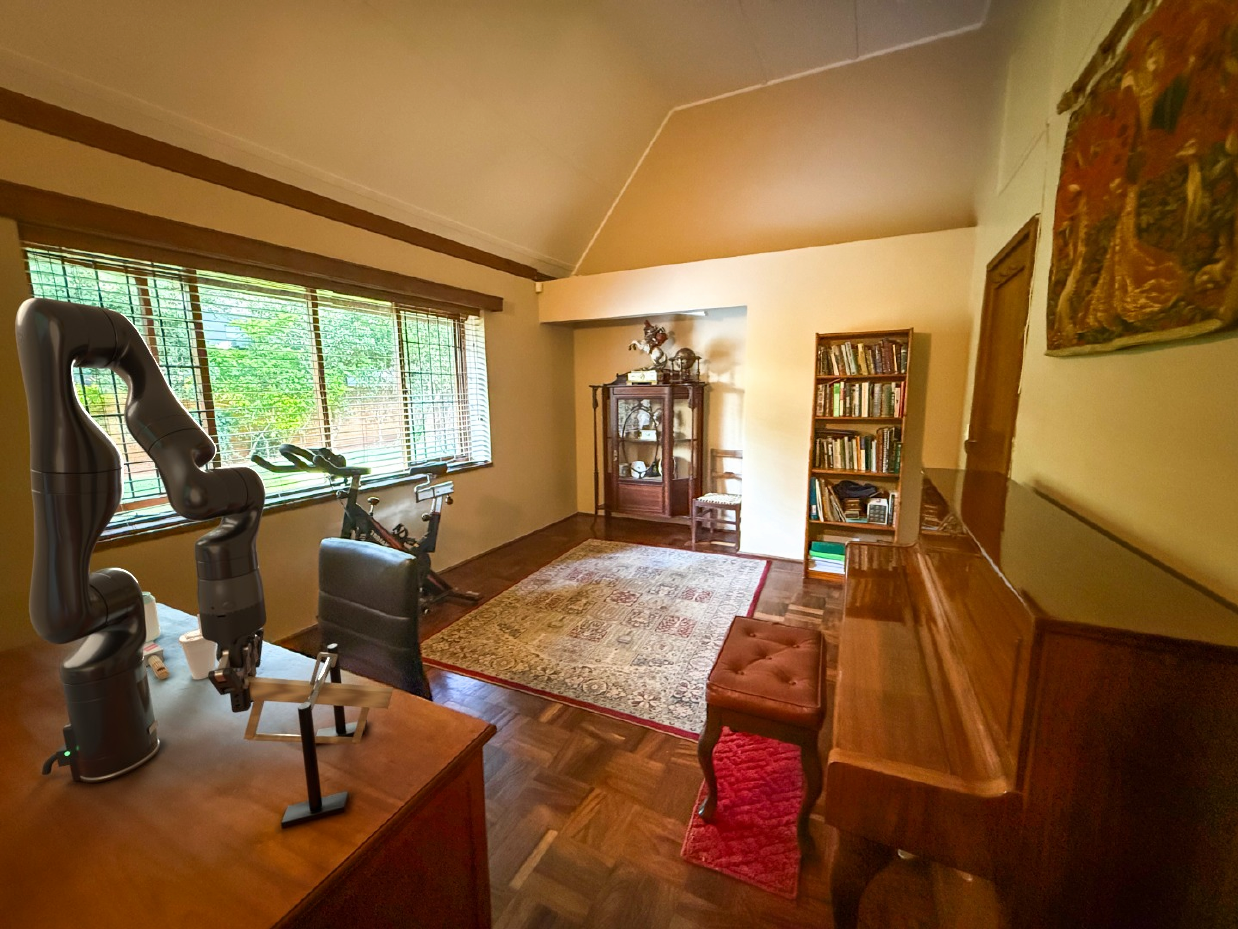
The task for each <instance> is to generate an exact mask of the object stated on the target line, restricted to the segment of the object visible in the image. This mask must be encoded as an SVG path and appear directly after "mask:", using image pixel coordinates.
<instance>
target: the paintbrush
mask: <svg viewBox="0 0 1238 929" xmlns="http://www.w3.org/2000/svg"><path fill="white" fill-rule="evenodd" d="M143 653H144V659H145V665H146V667H148V666H150V667H151V669H152V670H153V672H154V674H155V675H156V677H157V679H158V680H166V679H167V678H168V677H169V676H170V671H169V670H168V668H167V667H166V666H165V664H164V663H163V661H165V660H166V658H165V655H164V648H163V647H161V646H160V645H159V644H156V642H154V641H151V642H148V643H145V645H144V648H143Z"/></svg>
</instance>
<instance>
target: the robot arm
mask: <svg viewBox="0 0 1238 929" xmlns="http://www.w3.org/2000/svg"><path fill="white" fill-rule="evenodd" d="M14 321H15V324H14V332H15V334H14V335H15V341H16V347H17V354H18V360H19V365H20V371H21V376H22V381H23V387H24V391H25V397H26V404H27V413H28V427H29V449H30V450H29V451H30V452H29V453H30V454H29V455H30V456H29V469H30V470H29V471H30V488H31V490H30V491H31V498H32V505H33V536H34V537H33V559H32V560H33V561H32V571H31V578H30V589H29V600H28V603H29V604H28V610H29V612H28V613H29V618H30V623H31V625H32V627H33V629H34V631H35V632H36V634H37V635H38V636H39V637H40V638H41V639H42V640H44V641H45V642H47V643H51V644H53V645H66V644H70V643H75V642H77V641H79V640H82V641H81V642H80V643H79V644H78V645H77V647H75V648H74V649H73V650H72V651H71V652H70V653H69V654H68V655H67V656H66V657H65V658H64V659H63V660H62V661H61V662H60V665H59V668H58V669H59V670H58V671H59V676H60V681H61V685H62V691H63V696H64V700H65V705H66V710H67V715H68V716H67V717H68V720H69V722H68V723H67V724H66V725H64V726H63V728H62V734H63V738H64V740H63V741H64V744H63V745H62V746H61V747H59V748H58V749H57V750H56V751H55V753H53V754H52V755H50V756H49V757H48V758H47V759H46V760H45V761H44V763H43V765H42V770H41V775H42V776H48V775H50V774H51V772H52V768H53V765H54V763H55V761H57V765H58V768H62V767H65V766H69V770H70V773H71V774H70V775H71V778H72V782H78V781H81V782H83V783H88V784H89V783H91V784H93V783H101V782H105V781H109V780H112V779H115V778H118V777H120V776H123V775H126V774H128V773H129V772H132V771H134V770H135V769H137V768H139V767H141V766H142V765H144V764H145V763H147V762H148V761H150V760H151V759H152V758H153V757H154V756H155V755H156V754H157V753H158V751H159V750H160V747H161V743H160V740H159V735H158V732H157V727H159V723H158V719H156V718H155V713H154V707H153V701H152V695H151V689H150V683H149V678H148V671H147V666H146V665H145V659H144V653H143V648H144V645H145V642H146V638H147V631H146V621H145V608H144V599H143V594H142V592H143V591H142V588H141V585H140V583H139V581H138V580H137V579H136V577H134V575H133V574H132V573H130V572H129V571H127V570H125V569H122V568H119V567H105V568H101V569H98V570H94V571H92V572H90V571H91V570H90V568H91V560H92V556H93V553H94V551H95V550H94V549H95V548H96V546H97V543H98V542H99V540H100V538H101V537H102V534H103V533H104V532H105V530H106V528H107V527H108V526H109V525H110V522H111V520H112V519H113V518H114V516H115V514H116V512H117V511H118V509H119V507H120V505H121V502H122V501H123V496H124V491H125V487H124V486H125V485H124V484H125V481H124V480H125V479H124V477H125V476H124V458H123V455H122V452H121V451H120V448H119V447H118V445H116V443H115V441H114V440H113V439H112V438H111V437H110V435H108V433H106V431H105V430H104V429H103V428H102V427H101V426H100V425H99V424H98V423H97V422H96V421H95V420H94V418H92V416H91V415H90V414H89V413H88V411H87V410H86V409H85V407H84V406H83V404H82V403H81V401H80V399H79V396H78V393H77V389H76V386H75V382H74V381H75V380H74V372H73V371H74V369H73V368H79V369H80V368H82V369H98V370H110V371H112V372H113V373H114V374H116V375H117V376H118V377H119V378H120V379H121V380H122V381H123V382H124V383H125V385H126V386H127V395H126V398H125V399H126V400H125V404H124V409H123V419H124V423H125V426H126V429H127V431H128V432H129V434H130V436H131V437H132V439H134V441H135V442H136V443H137V444H138V446H139V447H140V448H141V449H142V450H143V451H144V453H145V454H146V455H147V456H148V457H149V458H150V460H151V461H152V462H153V463H154V464H155V467H156V469H157V472H158V475H159V477H160V480H161V482H162V485H163V488H164V490H165V491H164V492H165V494H166V497H167V500H168V502H169V506H170V508H171V509H172V510H173V511H174V512H175V513H176V514H177V515H179V516H180V517H182V518H184V519H186V520H188V521H193V522H205V521H206V522H207V521H211V520H215V519H218V518H221V520H220V523H219V525H218V526H217V527H216V528H214V529H213V530H211V531H209V532H207V533H206V534H204V535H202V536H200V537H199V538H198V539H197V540H196V541H195V542H194V544H193V555H194V556H193V557H194V562H195V563H194V564H195V569H196V580H197V581H196V582H197V584H196V597H197V598H196V599H197V604H198V605H197V606H198V614H200V622H201V630H202V636H203V638H204V639H206V640H209V641H213V642H215V643H216V655H215V660H216V661H217V662H218V665H217V668H215V670H210V671H209V673H208V677H207V678H208V680H209V681H210V683H211V684H212V686H213V687H214V688H215V690H216V691H217V692H218V693H219V695H220V696H225V695H229V699H230V708H231V711H232V713H234V714H237V713H243V712H247V711H249V710H250V708H252V704H253V702H254V700H251V699H250V690H249V680H248V676H251V677H257V674H258V672H257V668H260V666H261V661H262V660H261V659H262V650H263V642H264V633H265V630H264V628H263V627H264V626H265V625H266V623H267V611H266V601H265V594H264V592H265V590H264V582H263V577H262V574H261V570H260V564H259V554H258V548H257V537H258V534H259V530H260V526H261V521H262V517H263V512H264V507H265V503H266V486H265V483H264V481H263V478H262V477H261V475H260V474H259V473H258V472H257V471H256V469H253V468H252V467H250V466H247V465H243V464H237V465H236V464H235V465H229V466H228V465H227V466H221V467H214V468H208V469H201V468H202V467H204V466H206V465H208V464H209V463H210V462H211V461H212V460H213V459H214V457H216V454H217V446H216V444H215V443H214V441H213V439H212V438H211V436H209V435H208V434H207V432H206V431H205V430H204V429H203V428H202V426H201V425H200V424H199V423H198V422H197V421H196V419H195V418H194V417H193V416H192V415H191V414H190V413H189V411H188V410H187V409H186V408H185V406H184V405H183V404H182V403H181V401H180V400H179V399H178V397H177V396H176V394H175V392H174V391H173V389H172V387H171V386H170V384H169V383H168V380H167V379H166V376H164V373H163V372H162V370H161V367H160V366H159V364H158V363H157V361H156V359H155V357H154V356H153V353H152V352H151V351H150V348H149V347H148V345H147V343H146V342H145V340H144V338H143V336H142V335H141V333H140V331H139V330H138V329H137V327H136V326H135V325H134V324H133V322H132V321H131V320H129V318H128V317H127V316H126V315H124V314H122V313H121V312H118V311H117V310H114V309H110V308H106V307H102V306H96V305H92V304H91V305H90V304H84V303H78V302H73V301H65V300H59V299H54V298H53V299H52V298H45V297H30V298H28V299H26V300H24V301H23V302H22V303H21V304H20V305H19V307H18V309H17V313H16V315H15V320H14ZM240 677H241V680H240Z"/></svg>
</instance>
